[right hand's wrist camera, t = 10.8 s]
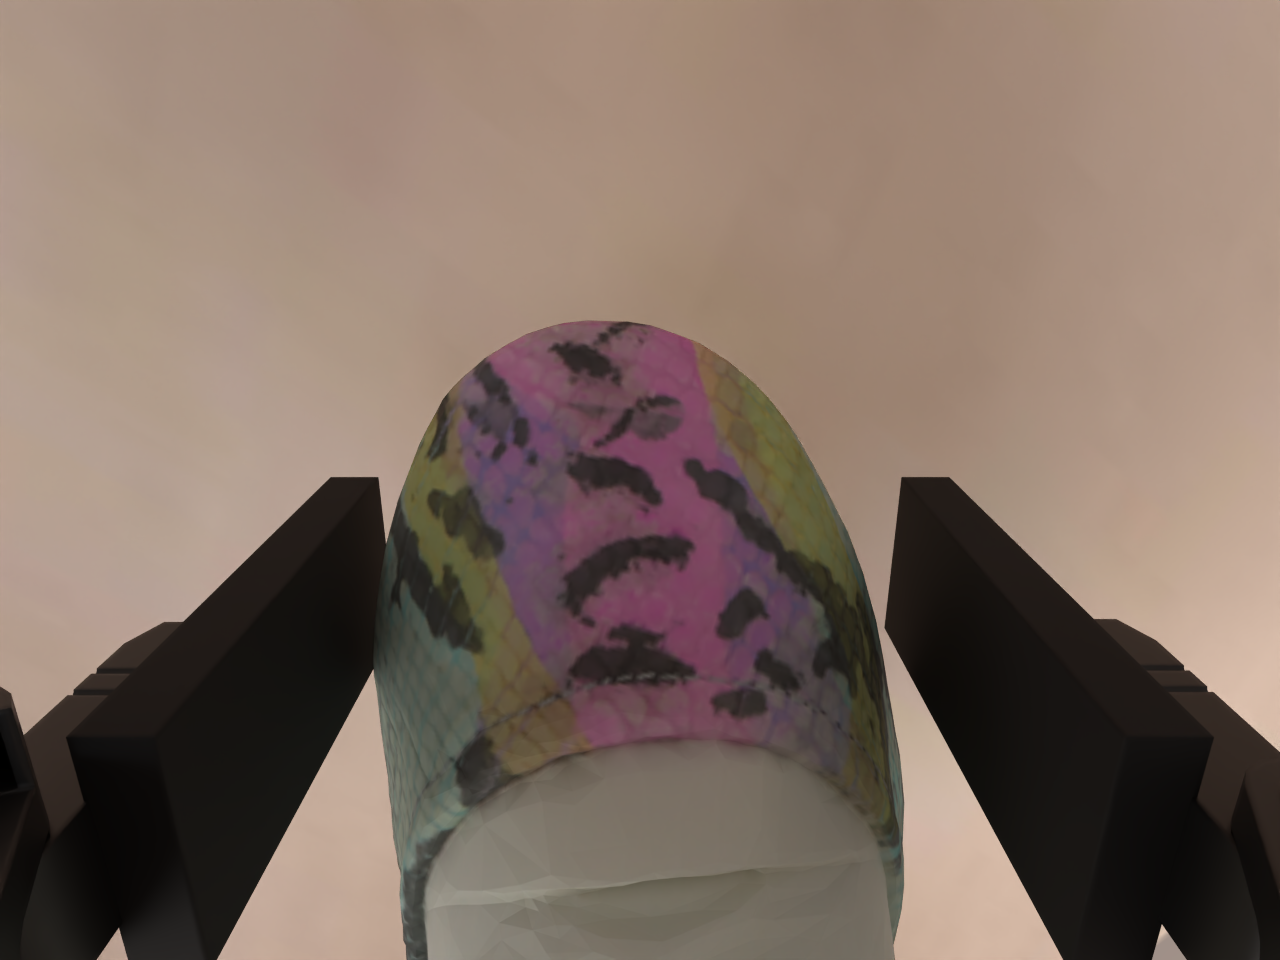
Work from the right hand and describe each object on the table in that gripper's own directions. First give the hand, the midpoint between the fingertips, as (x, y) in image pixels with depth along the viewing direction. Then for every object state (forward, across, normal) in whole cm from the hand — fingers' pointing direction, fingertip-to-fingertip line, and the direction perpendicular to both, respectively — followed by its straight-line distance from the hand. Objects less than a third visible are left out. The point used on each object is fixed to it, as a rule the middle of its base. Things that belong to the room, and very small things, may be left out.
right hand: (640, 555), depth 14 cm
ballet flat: (+1, 0, -8) cm, 8 cm away
